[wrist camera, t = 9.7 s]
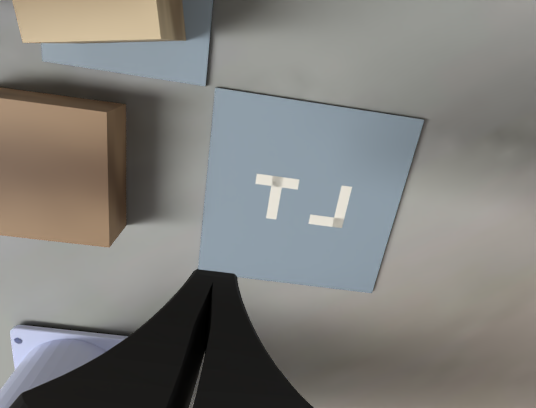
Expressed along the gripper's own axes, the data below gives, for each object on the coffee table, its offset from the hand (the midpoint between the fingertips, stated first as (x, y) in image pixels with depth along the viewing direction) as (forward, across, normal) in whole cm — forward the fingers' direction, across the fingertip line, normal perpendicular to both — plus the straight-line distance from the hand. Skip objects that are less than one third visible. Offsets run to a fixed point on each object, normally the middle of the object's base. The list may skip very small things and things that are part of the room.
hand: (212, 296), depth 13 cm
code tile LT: (+10, -4, 0) cm, 11 cm away
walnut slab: (+10, +10, 0) cm, 14 cm away
